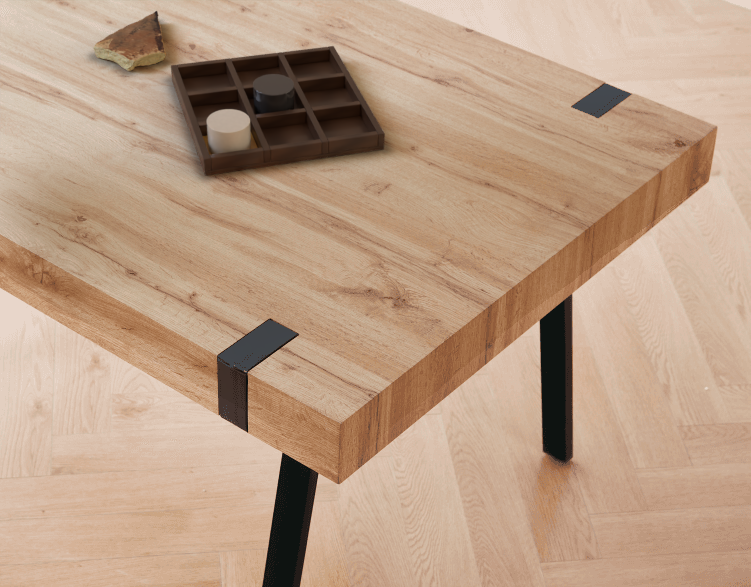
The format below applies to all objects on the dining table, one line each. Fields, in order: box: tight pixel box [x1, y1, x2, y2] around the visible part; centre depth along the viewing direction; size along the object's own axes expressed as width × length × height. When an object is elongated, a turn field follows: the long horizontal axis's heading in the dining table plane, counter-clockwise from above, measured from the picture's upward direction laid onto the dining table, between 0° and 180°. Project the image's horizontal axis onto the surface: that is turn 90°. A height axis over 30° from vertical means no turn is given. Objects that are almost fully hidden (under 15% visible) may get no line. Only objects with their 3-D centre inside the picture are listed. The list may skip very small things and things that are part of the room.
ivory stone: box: [207, 109, 251, 154], centre depth 110 cm, size 4×4×3 cm
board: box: [170, 45, 386, 176], centre depth 117 cm, size 19×19×2 cm
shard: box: [93, 10, 167, 72], centre depth 126 cm, size 11×8×2 cm
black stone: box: [253, 74, 294, 115], centre depth 116 cm, size 4×4×3 cm
